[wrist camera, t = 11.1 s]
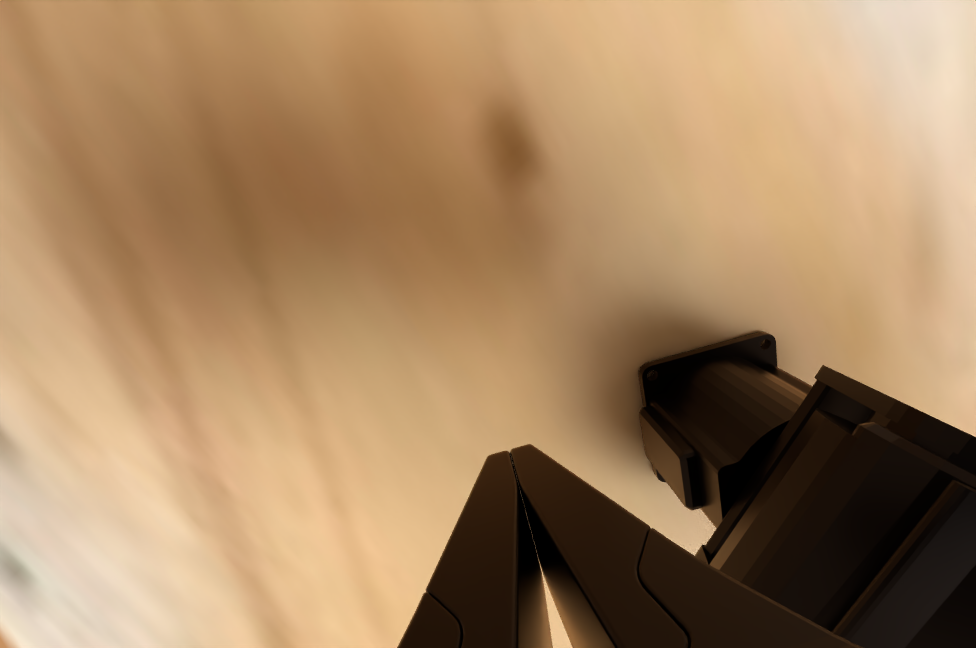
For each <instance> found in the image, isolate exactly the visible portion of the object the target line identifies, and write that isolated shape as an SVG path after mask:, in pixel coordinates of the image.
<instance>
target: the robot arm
mask: <svg viewBox="0 0 976 648" xmlns="http://www.w3.org/2000/svg"><path fill="white" fill-rule="evenodd" d="M763 340H765V343H764V344H763V345H762V346H760V345H761V342H762V341H763ZM653 370H654V374H653V375H652V376H650V377H647V374H648V373H649V372H650V371H653ZM815 379H817V381H816V382H815V384H814V385H813V387H812V386H811V385H809V384H807V383H805V382H803V381H801V380H800V379H798V378H796V377H794V376H792V375H790V374H789V373H787V372H785V371H783V370H781V369H779V368H778V367H777V354H776V340H775V338H774V337H773V336H772V335H770V334H768V333H766V332H757V333H754V334H750V335H746V336H743V337H739V338H735V339H732V340H728V341H724V342H721V343H717V344H713V345H710V346H706V347H702V348H699V349H695V350H692V351H688V352H684V353H681V354H677V355H673V356H670V357H666V358H662V359H659V360H655V361H651V362H648V363H645V364H643V365H642V366H641V367H640V369H639V381H640V388H641V394H642V401H643V407H642V408H641V410H640V412H639V417H640V423H641V429H642V435H643V442H644V448H645V454H646V456H647V457H648V459H649V460H650V461H651V463H652V464H653V471H654V474H655V475H656V477H657V478H658V479H659V480H660V481H662V482H667V484H668V485H669V486H670V487H671V489H672V490H673V491H674V493H675V494H676V495H677V497H678V498H679V499H680V501H681V502H682V503H683V504H684V506H685V507H687V508H689V509H690V510H695V509H699V508H700V509H701V510H702V511H703V512H704V514H705V515H706V516H707V517H708V518H709V520H710V521H711V522H712V523H713V525H714V526H715V527H716V528H717V529H716V531H715V532H714V534H713V535H712V536H711V538H710V539H709V541H708V542H707V544H706V545H702V546H701V547H700V549H699V550H698V552H697V553H696V555H695V556H694V555H692V554H691V553H689V552H688V551H686V550H685V549H683V548H682V547H680V546H678V545H677V544H675V543H674V542H672V541H671V540H669V539H668V538H666V537H665V536H663V535H662V534H661V533H659V532H658V531H656V530H655V529H653V528H650V526H649V525H647V524H646V523H644V522H643V521H641V520H640V519H639V518H637V517H636V516H634V515H633V514H631V513H630V512H628V511H627V510H626V509H624V508H623V507H621V506H620V505H618V504H617V503H615V502H614V501H613V500H611V499H610V498H608V497H607V496H605V495H604V494H602V493H601V492H599V491H598V490H597V489H595V488H594V487H592V486H591V485H589V484H588V483H586V482H585V481H584V480H582V479H581V478H579V477H578V476H576V475H575V474H573V473H572V472H571V471H569V470H568V469H566V468H565V467H563V466H562V465H560V464H559V463H557V462H556V461H555V460H553V459H552V458H550V457H549V456H547V455H546V454H544V453H543V452H542V451H540V450H539V449H537V448H536V447H534V446H533V445H531V444H528V445H524V446H520V447H517V448H513V449H512V450H511V452H510V453H509V452H508V451H502V452H499V453H495V454H492V455H489V456H488V457H487V459H486V461H485V463H484V465H483V467H482V469H481V471H480V474H479V476H478V478H477V480H476V482H475V484H474V487H473V489H472V491H471V493H470V495H469V497H468V500H467V502H466V504H465V506H464V508H463V510H462V512H461V515H460V517H459V519H458V521H457V523H456V525H455V528H454V530H453V532H452V534H451V536H450V538H449V541H448V543H447V545H446V547H445V549H444V551H443V553H442V556H441V558H440V560H439V562H438V564H437V566H436V569H435V571H434V573H433V575H432V577H431V579H430V582H429V584H428V586H427V588H426V593H424V594H423V596H422V598H421V600H420V603H419V605H418V607H417V609H416V611H415V613H414V615H413V617H412V619H411V621H410V623H409V625H408V627H407V629H406V631H405V633H404V635H403V637H402V639H401V641H400V643H399V645H398V647H397V648H553V646H552V639H551V632H550V625H549V618H548V611H547V604H546V597H545V590H544V583H543V578H542V572H543V575H544V577H545V580H546V583H547V585H548V588H549V590H550V593H551V595H552V598H553V600H554V603H555V605H556V608H557V610H558V613H559V615H560V617H561V620H562V622H563V625H564V627H565V630H566V632H567V635H568V637H569V640H570V642H571V645H572V647H573V648H976V437H974V436H972V435H970V434H968V433H966V432H964V431H961V430H959V429H957V428H955V427H953V426H951V425H949V424H947V423H945V422H942V421H940V420H938V419H936V418H934V417H932V416H930V415H928V414H926V413H923V412H921V411H919V410H917V409H915V408H913V407H911V406H909V405H906V404H904V403H902V402H900V401H898V400H896V399H894V398H892V397H890V396H887V395H885V394H883V393H881V392H879V391H877V390H875V389H873V388H870V387H868V386H866V385H864V384H862V383H860V382H858V381H856V380H854V379H851V378H849V377H847V376H845V375H843V374H841V373H839V372H837V371H835V370H832V369H830V368H828V367H826V366H824V365H823V366H822V367H821V369H820V370H819V372H818V373H817V375H816V376H815ZM510 454H511V455H510ZM511 458H512V459H511ZM512 462H513V463H512ZM513 465H514V466H513ZM514 469H515V470H514ZM515 473H516V474H515ZM517 480H518V481H517ZM518 484H519V485H518ZM520 491H521V492H520ZM521 495H522V496H521ZM522 499H523V500H522ZM524 506H525V507H524ZM525 510H526V511H525ZM526 514H527V515H526ZM527 517H528V518H527ZM528 521H529V522H528ZM529 525H530V526H529ZM530 529H531V530H530ZM531 532H532V533H531ZM532 536H533V537H532ZM533 540H534V541H533ZM534 543H535V545H534ZM535 547H536V548H535ZM536 551H537V552H536ZM537 555H538V556H537ZM538 558H539V559H538ZM539 562H540V564H539ZM540 565H541V568H542V572H541V568H540Z"/></svg>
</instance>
